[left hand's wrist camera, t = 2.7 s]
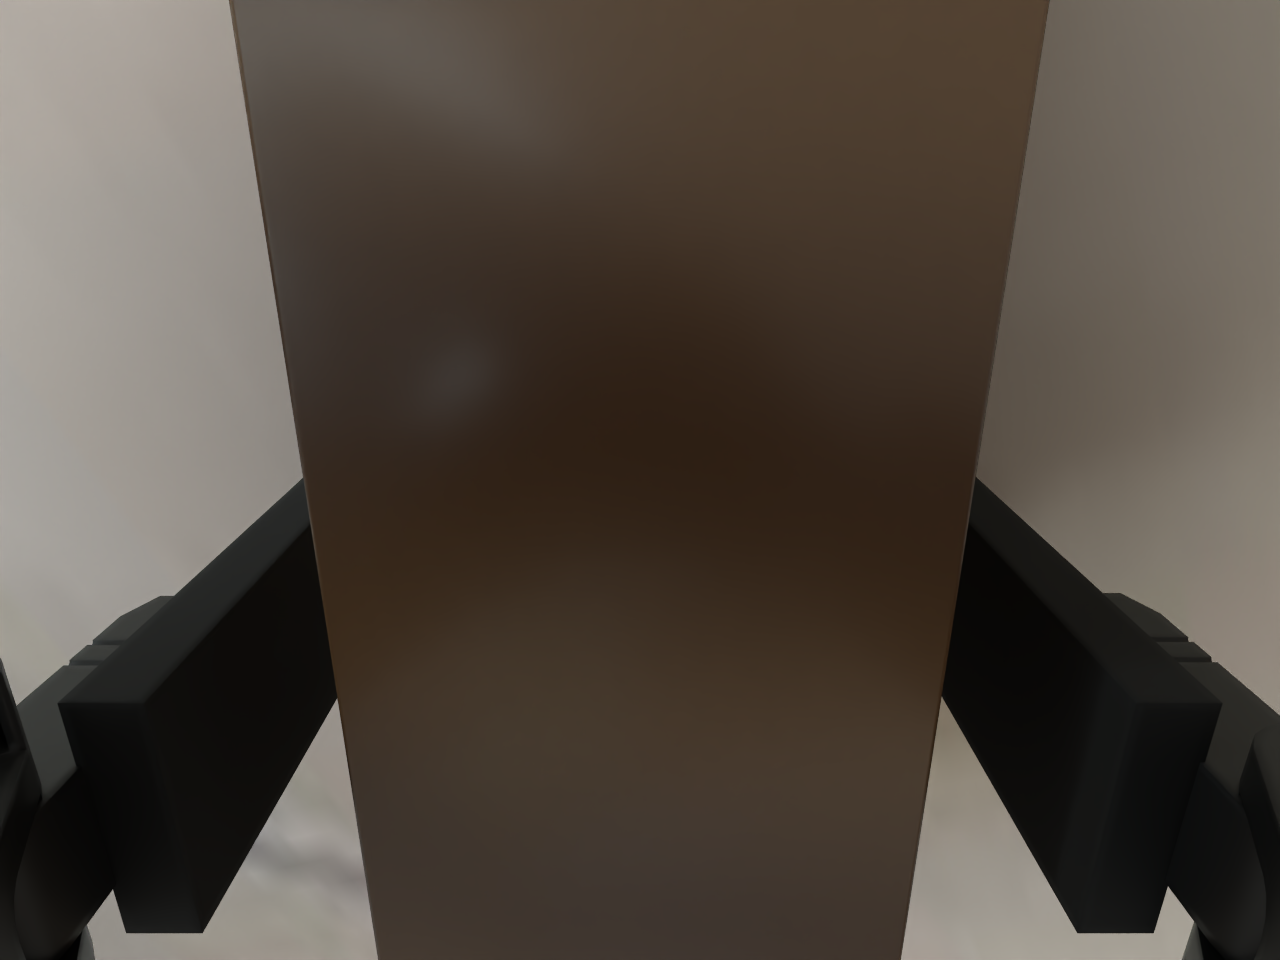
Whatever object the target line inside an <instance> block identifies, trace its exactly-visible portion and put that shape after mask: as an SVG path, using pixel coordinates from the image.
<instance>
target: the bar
mask: <svg viewBox="0 0 1280 960" xmlns="http://www.w3.org/2000/svg"><path fill="white" fill-rule="evenodd" d="M229 4H230V10H231V16H232V23H233V29H234V36H235V42H236V49H237V55H238V61H239V68H240V74H241V81H242V87H243V94H244V100H245V106H246V113H247V119H248V126H249V132H250V139H251V145H252V151H253V158H254V164H255V171H256V177H257V183H258V190H259V196H260V203H261V209H262V216H263V222H264V228H265V235H266V241H267V248H268V254H269V261H270V267H271V273H272V280H273V286H274V293H275V299H276V306H277V312H278V318H279V325H280V331H281V338H282V344H283V351H284V357H285V363H286V370H287V376H288V383H289V389H290V396H291V402H292V408H293V415H294V421H295V428H296V434H297V440H298V447H299V453H300V460H301V466H302V473H303V479H304V485H305V492H306V498H307V505H308V511H309V518H310V524H311V530H312V537H313V543H314V550H315V556H316V563H317V569H318V575H319V582H320V588H321V595H322V601H323V608H324V614H325V620H326V627H327V633H328V640H329V646H330V653H331V659H332V665H333V672H334V678H335V685H336V691H337V697H338V704H339V710H340V717H341V723H342V730H343V736H344V742H345V749H346V755H347V762H348V768H349V775H350V781H351V787H352V794H353V800H354V807H355V813H356V820H357V826H358V832H359V839H360V845H361V852H362V858H363V865H364V871H365V877H366V884H367V890H368V897H369V903H370V910H371V916H372V922H373V929H374V935H375V942H376V948H377V954H378V960H901V955H902V948H903V942H904V935H905V929H906V922H907V916H908V909H909V903H910V897H911V890H912V884H913V877H914V871H915V864H916V858H917V851H918V845H919V839H920V832H921V826H922V819H923V813H924V806H925V800H926V793H927V787H928V780H929V774H930V768H931V761H932V755H933V748H934V742H935V735H936V729H937V722H938V716H939V709H940V703H941V697H942V690H943V684H944V677H945V671H946V664H947V658H948V651H949V645H950V639H951V632H952V626H953V619H954V613H955V606H956V600H957V593H958V587H959V580H960V574H961V568H962V561H963V555H964V548H965V542H966V535H967V529H968V522H969V516H970V509H971V503H972V497H973V490H974V484H975V477H976V471H977V464H978V458H979V451H980V445H981V439H982V432H983V426H984V419H985V413H986V406H987V400H988V393H989V387H990V380H991V374H992V368H993V361H994V355H995V348H996V342H997V335H998V329H999V322H1000V316H1001V310H1002V303H1003V297H1004V290H1005V284H1006V277H1007V271H1008V264H1009V258H1010V251H1011V245H1012V239H1013V232H1014V226H1015V219H1016V213H1017V206H1018V200H1019V193H1020V187H1021V180H1022V174H1023V168H1024V161H1025V155H1026V148H1027V142H1028V135H1029V129H1030V122H1031V116H1032V110H1033V103H1034V97H1035V90H1036V84H1037V77H1038V71H1039V64H1040V58H1041V51H1042V45H1043V39H1044V32H1045V26H1046V19H1047V13H1048V6H1049V0H229Z"/></svg>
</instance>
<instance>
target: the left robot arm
mask: <svg viewBox="0 0 1280 960" xmlns="http://www.w3.org/2000/svg"><path fill="white" fill-rule="evenodd" d="M942 698H943V699H944V701H945V703H946V704H947V706H948V708H949V710H950V711H951V713H952V715H953V717H954V718H955V720H956V722H957V724H958V725H959V727H960V729H961V731H962V732H963V734H964V736H965V738H966V739H967V741H968V743H969V745H970V746H971V748H972V750H973V752H974V753H975V755H976V757H977V759H978V760H979V762H980V764H981V766H982V767H983V769H984V771H985V773H986V774H987V776H988V778H989V780H990V781H991V783H992V785H993V787H994V788H995V790H996V792H997V794H998V795H999V797H1000V799H1001V800H1002V802H1003V804H1004V806H1005V807H1006V809H1007V811H1008V813H1009V814H1010V816H1011V818H1012V820H1013V821H1014V823H1015V825H1016V827H1017V828H1018V830H1019V832H1020V834H1021V835H1022V837H1023V839H1024V841H1025V842H1026V844H1027V846H1028V848H1029V849H1030V851H1031V853H1032V855H1033V856H1034V858H1035V860H1036V862H1037V863H1038V865H1039V867H1040V869H1041V870H1042V872H1043V874H1044V876H1045V877H1046V879H1047V881H1048V883H1049V884H1050V886H1051V888H1052V890H1053V891H1054V893H1055V895H1056V896H1057V898H1058V900H1059V902H1060V903H1061V905H1062V907H1063V909H1064V910H1065V912H1066V914H1067V916H1068V917H1069V919H1070V921H1071V923H1072V924H1073V926H1074V928H1075V930H1076V931H1077V933H1154V930H1155V927H1156V924H1157V920H1158V917H1159V914H1160V910H1161V907H1162V904H1163V900H1164V897H1165V894H1166V890H1167V887H1168V886H1169V888H1170V889H1171V890H1172V892H1173V893H1174V895H1175V896H1176V897H1177V899H1178V900H1179V901H1180V903H1181V904H1182V905H1183V907H1184V908H1185V909H1186V911H1187V912H1188V914H1189V915H1190V916H1191V918H1192V919H1193V920H1194V924H1193V927H1192V930H1191V933H1190V937H1189V940H1188V943H1187V946H1186V949H1185V952H1184V955H1183V958H1182V960H1280V715H1278V714H1277V713H1276V712H1275V711H1274V710H1273V709H1271V708H1270V707H1269V706H1268V705H1267V704H1266V703H1264V702H1263V701H1262V700H1261V699H1260V698H1259V697H1257V696H1256V695H1255V694H1254V693H1253V692H1252V691H1250V690H1249V689H1248V688H1247V687H1246V686H1245V685H1243V684H1242V683H1241V682H1240V681H1239V680H1237V679H1236V678H1235V677H1234V676H1233V675H1232V674H1230V673H1229V672H1228V671H1227V670H1226V669H1225V668H1223V667H1222V666H1221V665H1220V664H1219V663H1218V662H1212V661H1211V656H1209V655H1208V654H1207V653H1206V652H1205V651H1204V650H1202V649H1201V648H1200V647H1199V646H1198V645H1196V644H1195V643H1194V642H1188V637H1187V636H1186V635H1185V634H1184V633H1182V632H1181V631H1180V630H1179V629H1178V628H1177V627H1175V626H1174V625H1173V624H1172V623H1171V622H1170V621H1168V620H1167V619H1166V618H1165V617H1164V616H1163V615H1161V614H1160V613H1158V612H1156V611H1154V610H1152V609H1150V608H1148V607H1146V606H1144V605H1143V604H1141V603H1139V602H1137V601H1135V600H1133V599H1131V598H1129V597H1127V596H1125V595H1123V594H1121V593H1102V592H1101V591H1100V590H1099V589H1098V588H1097V587H1095V586H1094V585H1093V584H1092V583H1091V582H1090V581H1089V580H1088V579H1087V578H1086V577H1084V576H1083V575H1082V574H1081V573H1080V572H1079V571H1078V570H1077V569H1076V568H1075V567H1074V566H1072V565H1071V564H1070V563H1069V562H1068V561H1067V560H1066V559H1065V558H1064V557H1063V556H1062V555H1060V554H1059V553H1058V552H1057V551H1056V550H1055V549H1054V548H1053V547H1052V546H1051V545H1050V544H1048V543H1047V542H1046V541H1045V540H1044V539H1043V538H1042V537H1041V536H1040V535H1039V534H1038V533H1036V532H1035V531H1034V530H1033V529H1032V528H1031V527H1030V526H1029V525H1028V524H1027V523H1026V522H1024V521H1023V520H1022V519H1021V518H1020V517H1019V516H1018V515H1017V514H1016V513H1015V512H1014V511H1012V510H1011V509H1010V508H1009V507H1008V506H1007V505H1006V504H1005V503H1004V502H1003V501H1001V500H1000V499H999V498H998V497H997V496H996V495H995V494H994V493H993V492H992V491H991V490H989V489H988V488H987V487H986V486H985V485H984V484H983V483H982V482H981V481H980V480H979V479H977V478H976V477H975V484H974V490H973V497H972V503H971V509H970V516H969V522H968V529H967V535H966V542H965V548H964V555H963V561H962V568H961V574H960V580H959V587H958V593H957V600H956V606H955V613H954V619H953V626H952V632H951V639H950V645H949V651H948V658H947V664H946V671H945V677H944V684H943V690H942ZM336 699H337V691H336V685H335V678H334V672H333V665H332V659H331V653H330V646H329V640H328V633H327V627H326V620H325V614H324V608H323V601H322V595H321V588H320V582H319V575H318V569H317V563H316V556H315V550H314V543H313V537H312V530H311V524H310V518H309V511H308V505H307V498H306V492H305V485H304V479H301V480H300V481H299V482H298V483H297V484H296V485H295V486H294V487H293V488H292V489H291V490H289V491H288V492H287V493H286V494H285V495H284V496H283V497H282V498H281V499H280V500H278V501H277V502H276V503H275V504H274V505H273V506H272V507H271V508H270V509H269V510H268V511H266V512H265V513H264V514H263V515H262V516H261V517H260V518H259V519H258V520H257V521H256V522H254V523H253V524H252V525H251V526H250V527H249V528H248V529H247V530H246V531H245V532H244V533H242V534H241V535H240V536H239V537H238V538H237V539H236V540H235V541H234V542H233V543H232V544H230V545H229V546H228V547H227V548H226V549H225V550H224V551H223V552H222V553H221V554H220V555H218V556H217V557H216V558H215V559H214V560H213V561H212V562H211V563H210V564H209V565H208V566H206V567H205V568H204V569H203V570H202V571H201V572H200V573H199V574H198V575H197V576H195V577H194V578H193V579H192V580H191V581H190V582H189V583H188V584H187V585H186V586H185V587H183V588H182V589H181V590H180V591H179V592H178V593H177V594H176V595H175V596H159V597H157V598H155V599H154V600H152V601H150V602H148V603H146V604H144V605H142V606H140V607H138V608H136V609H134V610H132V611H130V612H128V613H126V614H124V615H122V616H120V617H119V618H118V619H117V620H116V621H115V622H114V623H112V624H111V625H110V626H109V627H108V628H107V629H105V630H104V631H103V632H102V633H101V634H100V635H98V636H97V637H96V638H95V639H94V640H93V644H92V645H87V646H86V647H84V648H83V649H82V650H81V651H80V652H79V653H77V654H76V655H75V656H74V657H73V658H72V659H71V660H70V663H69V666H62V667H61V668H60V669H59V670H58V671H57V672H55V673H54V674H53V675H52V676H51V677H50V678H48V679H47V680H46V681H45V682H44V683H43V684H41V685H40V686H39V687H38V688H37V689H36V690H34V691H33V692H32V693H31V694H30V695H29V696H28V697H26V698H25V699H24V700H23V701H22V702H21V703H19V704H18V705H17V706H16V704H15V701H14V697H13V694H12V691H11V688H10V685H9V682H8V679H7V676H6V673H5V669H4V666H3V663H2V660H1V659H0V960H95V957H94V950H93V943H92V940H91V937H90V933H89V930H88V927H87V924H88V922H89V921H90V920H91V918H92V917H93V915H94V914H95V913H96V911H97V910H98V909H99V907H100V906H101V905H102V903H103V902H104V900H105V899H106V898H107V896H108V895H109V894H110V892H111V891H112V890H113V891H114V894H115V897H116V900H117V904H118V907H119V910H120V914H121V917H122V920H123V924H124V927H125V930H126V933H203V931H204V930H205V928H206V926H207V924H208V923H209V921H210V919H211V917H212V916H213V914H214V912H215V910H216V909H217V907H218V905H219V903H220V902H221V900H222V898H223V896H224V895H225V893H226V891H227V889H228V888H229V886H230V884H231V882H232V881H233V879H234V877H235V876H236V874H237V872H238V870H239V869H240V867H241V865H242V863H243V862H244V860H245V858H246V856H247V855H248V853H249V851H250V849H251V848H252V846H253V844H254V842H255V841H256V839H257V837H258V835H259V834H260V832H261V830H262V828H263V827H264V825H265V823H266V821H267V820H268V818H269V816H270V814H271V813H272V811H273V809H274V807H275V806H276V804H277V802H278V800H279V799H280V797H281V795H282V793H283V792H284V790H285V788H286V787H287V785H288V783H289V781H290V780H291V778H292V776H293V774H294V773H295V771H296V769H297V767H298V766H299V764H300V762H301V760H302V759H303V757H304V755H305V753H306V752H307V750H308V748H309V746H310V745H311V743H312V741H313V739H314V738H315V736H316V734H317V732H318V731H319V729H320V727H321V725H322V724H323V722H324V720H325V718H326V717H327V715H328V713H329V711H330V710H331V708H332V706H333V704H334V703H335V701H336Z"/></svg>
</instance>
